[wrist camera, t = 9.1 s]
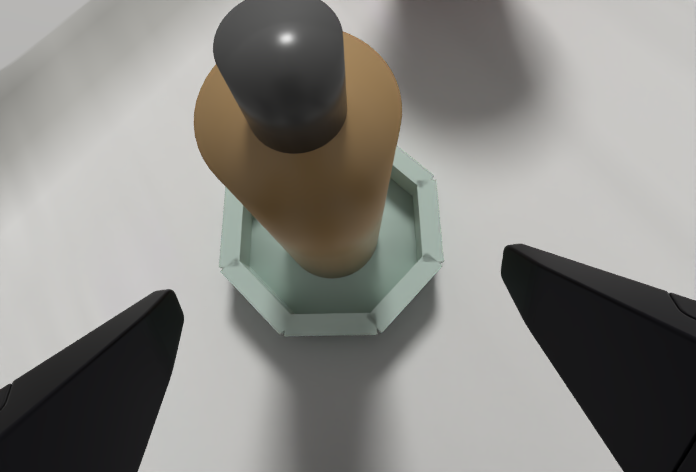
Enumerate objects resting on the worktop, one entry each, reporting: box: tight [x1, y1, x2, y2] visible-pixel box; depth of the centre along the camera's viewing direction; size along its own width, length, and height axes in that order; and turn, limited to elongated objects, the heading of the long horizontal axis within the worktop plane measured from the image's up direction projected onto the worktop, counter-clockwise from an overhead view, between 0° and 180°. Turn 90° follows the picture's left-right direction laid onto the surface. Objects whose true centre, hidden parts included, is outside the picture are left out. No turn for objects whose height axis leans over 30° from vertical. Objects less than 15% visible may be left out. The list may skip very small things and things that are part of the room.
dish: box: [219, 146, 444, 337], centre depth 18 cm, size 11×11×2 cm
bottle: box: [194, 0, 402, 278], centre depth 13 cm, size 5×5×13 cm
